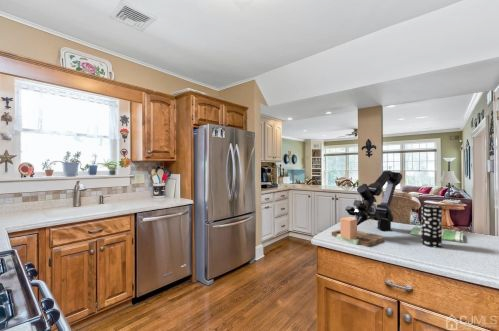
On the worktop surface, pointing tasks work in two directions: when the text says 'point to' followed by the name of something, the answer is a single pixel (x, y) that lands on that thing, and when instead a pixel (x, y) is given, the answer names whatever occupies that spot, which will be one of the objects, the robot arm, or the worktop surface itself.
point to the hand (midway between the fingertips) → (356, 225)
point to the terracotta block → (348, 228)
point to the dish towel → (446, 234)
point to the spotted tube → (431, 226)
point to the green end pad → (354, 241)
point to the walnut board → (364, 238)
